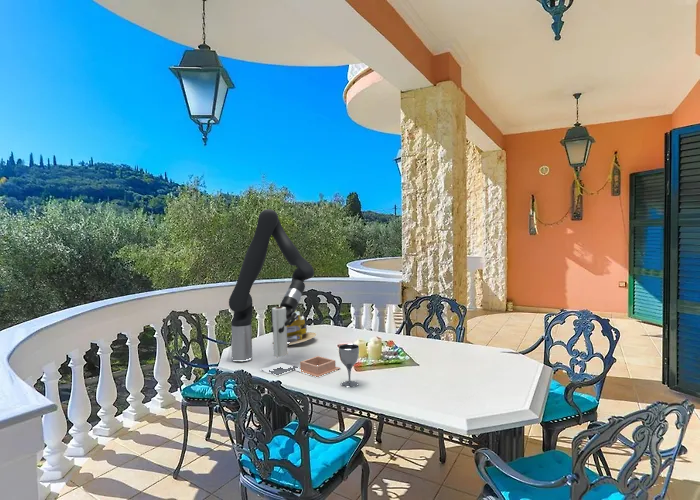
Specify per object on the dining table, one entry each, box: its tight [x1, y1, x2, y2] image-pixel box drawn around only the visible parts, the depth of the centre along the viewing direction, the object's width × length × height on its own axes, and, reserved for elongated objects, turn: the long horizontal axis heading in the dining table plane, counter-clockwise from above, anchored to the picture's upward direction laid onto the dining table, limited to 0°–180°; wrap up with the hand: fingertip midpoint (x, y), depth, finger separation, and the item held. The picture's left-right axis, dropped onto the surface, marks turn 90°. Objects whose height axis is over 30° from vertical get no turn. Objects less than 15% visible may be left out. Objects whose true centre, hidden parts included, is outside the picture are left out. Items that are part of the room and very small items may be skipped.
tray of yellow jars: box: [287, 310, 317, 346], centre depth 223 cm, size 25×25×17 cm
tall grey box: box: [271, 306, 289, 359], centre depth 175 cm, size 7×6×21 cm
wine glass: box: [338, 343, 360, 388], centre depth 156 cm, size 8×8×15 cm
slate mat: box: [269, 365, 299, 375], centre depth 176 cm, size 12×12×1 cm
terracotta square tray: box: [299, 355, 341, 378], centre depth 174 cm, size 14×14×4 cm
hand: (276, 332), depth 173 cm, fingers closed on tall grey box, 3 cm apart
